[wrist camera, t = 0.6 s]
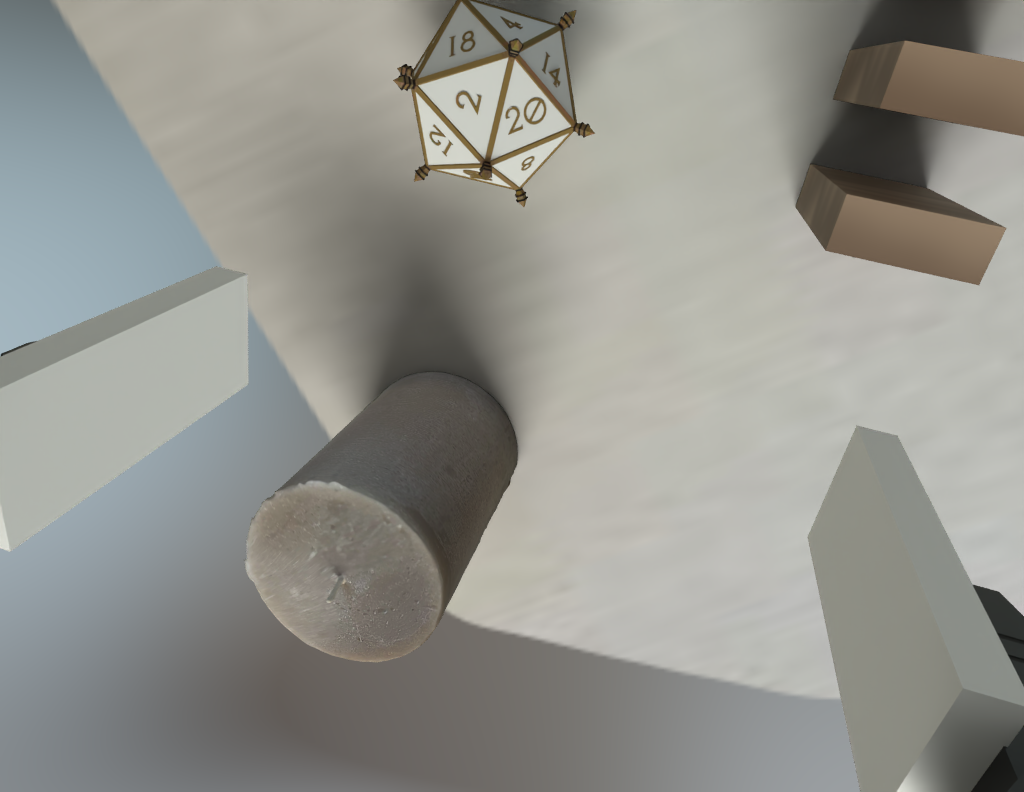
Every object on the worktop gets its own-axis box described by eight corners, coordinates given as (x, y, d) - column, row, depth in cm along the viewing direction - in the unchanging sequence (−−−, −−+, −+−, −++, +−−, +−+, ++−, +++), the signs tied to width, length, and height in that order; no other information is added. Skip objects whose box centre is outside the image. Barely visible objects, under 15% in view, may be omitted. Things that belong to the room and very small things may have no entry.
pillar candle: (533, 505, 44) (460, 686, 31) (391, 515, 47) (267, 684, 34) (498, 358, 41) (399, 488, 28) (348, 378, 44) (192, 505, 30)
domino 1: (849, 50, 31) (905, 40, 22) (975, 73, 30) (1082, 72, 22) (832, 99, 32) (879, 107, 23) (954, 123, 31) (1049, 140, 23)
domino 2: (810, 163, 33) (846, 193, 25) (926, 188, 32) (1006, 228, 24) (795, 207, 34) (825, 250, 25) (908, 231, 33) (978, 285, 25)
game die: (543, 56, 37) (613, -73, 28) (568, 217, 37) (646, 145, 28) (370, 63, 35) (380, -74, 26) (396, 234, 35) (416, 162, 26)
